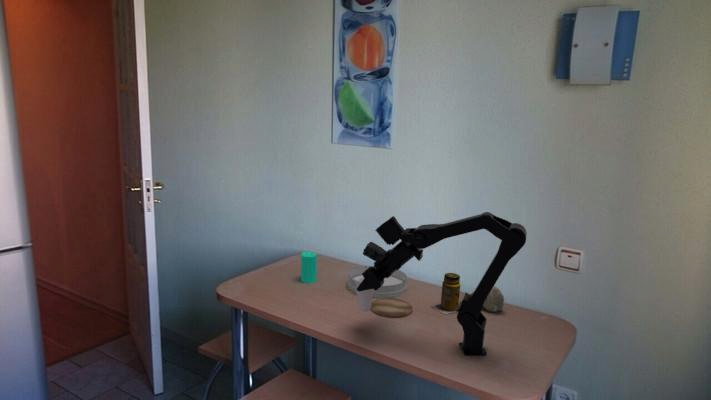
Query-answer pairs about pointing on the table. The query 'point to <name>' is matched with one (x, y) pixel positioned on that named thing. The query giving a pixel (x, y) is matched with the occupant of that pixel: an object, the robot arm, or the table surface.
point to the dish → (390, 287)
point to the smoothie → (364, 296)
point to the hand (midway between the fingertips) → (361, 286)
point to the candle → (308, 267)
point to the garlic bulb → (494, 300)
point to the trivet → (391, 307)
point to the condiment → (449, 294)
